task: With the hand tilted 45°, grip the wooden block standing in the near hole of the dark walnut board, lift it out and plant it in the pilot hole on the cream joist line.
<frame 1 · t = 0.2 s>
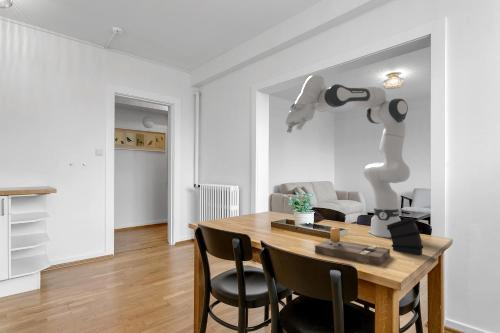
hand: (293, 130, 130), 54 cm above the table, tool tilted 25°, fingers open, 8 cm apart
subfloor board: (351, 254, 116), on the table
magazine: (404, 252, 119), on the table
wooden block: (335, 251, 121), resting in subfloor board
pine cone: (310, 225, 178), on the table
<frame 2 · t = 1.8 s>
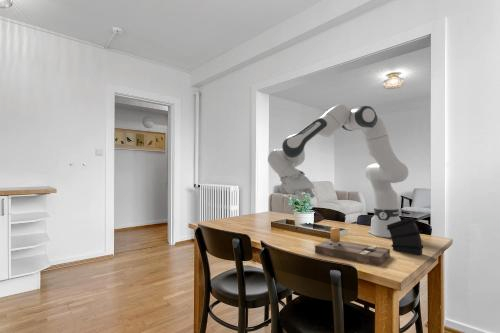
hand: (308, 198, 129), 22 cm above the table, tool tilted 45°, fingers open, 8 cm apart
nothing on the table moved.
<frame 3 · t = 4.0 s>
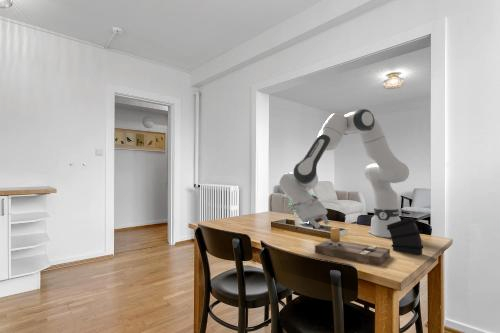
hand: (323, 225, 124), 10 cm above the table, tool tilted 45°, fingers open, 8 cm apart
nothing on the table moved.
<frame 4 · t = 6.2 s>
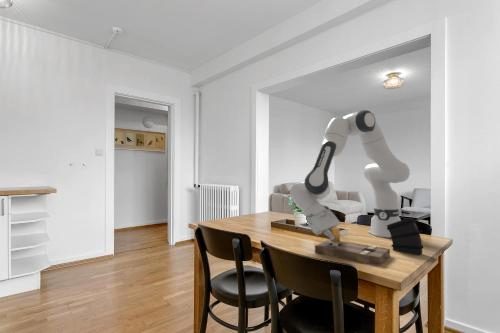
hand: (336, 237, 120), 6 cm above the table, tool tilted 45°, fingers closed on wooden block, 4 cm apart
wooden block: (335, 251, 121), resting in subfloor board, touching gripper
everything else where it was.
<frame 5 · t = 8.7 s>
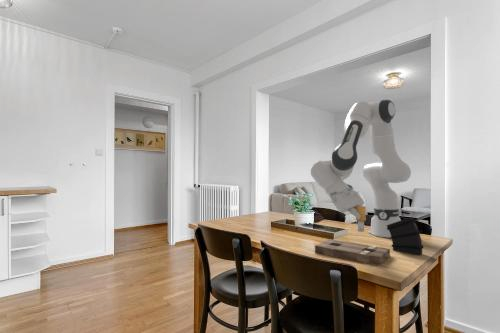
hand: (362, 216, 113), 16 cm above the table, tool tilted 45°, fingers closed on wooden block, 4 cm apart
wooden block: (361, 231, 114), point 10 cm above the table, touching gripper
everything else where it was.
when the fingers open (7 cm above the table, at t = 11.5 s): wooden block drops 1 cm, resting in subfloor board.
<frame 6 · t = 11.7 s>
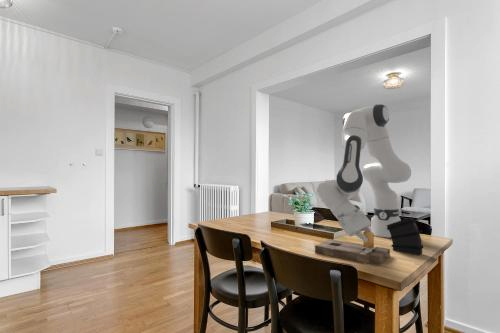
hand: (370, 239, 111), 7 cm above the table, tool tilted 45°, fingers open, 6 cm apart
wooden block: (368, 257, 112), resting in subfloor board
everything else where it was.
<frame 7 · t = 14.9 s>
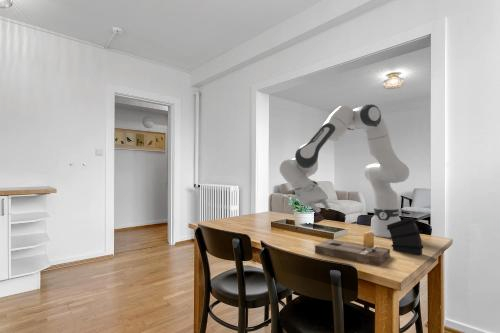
hand: (324, 210, 124), 17 cm above the table, tool tilted 45°, fingers open, 8 cm apart
nothing on the table moved.
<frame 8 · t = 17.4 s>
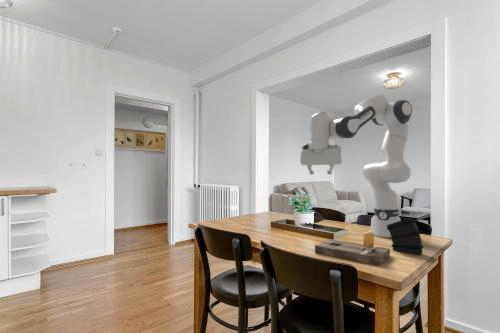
hand: (320, 174, 135), 33 cm above the table, tool pointing down, fingers open, 8 cm apart
nothing on the table moved.
at the end: wooden block 0.1 cm from the target spot, resting in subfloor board; wooden block tilted 0°; the gripper is holding nothing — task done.
